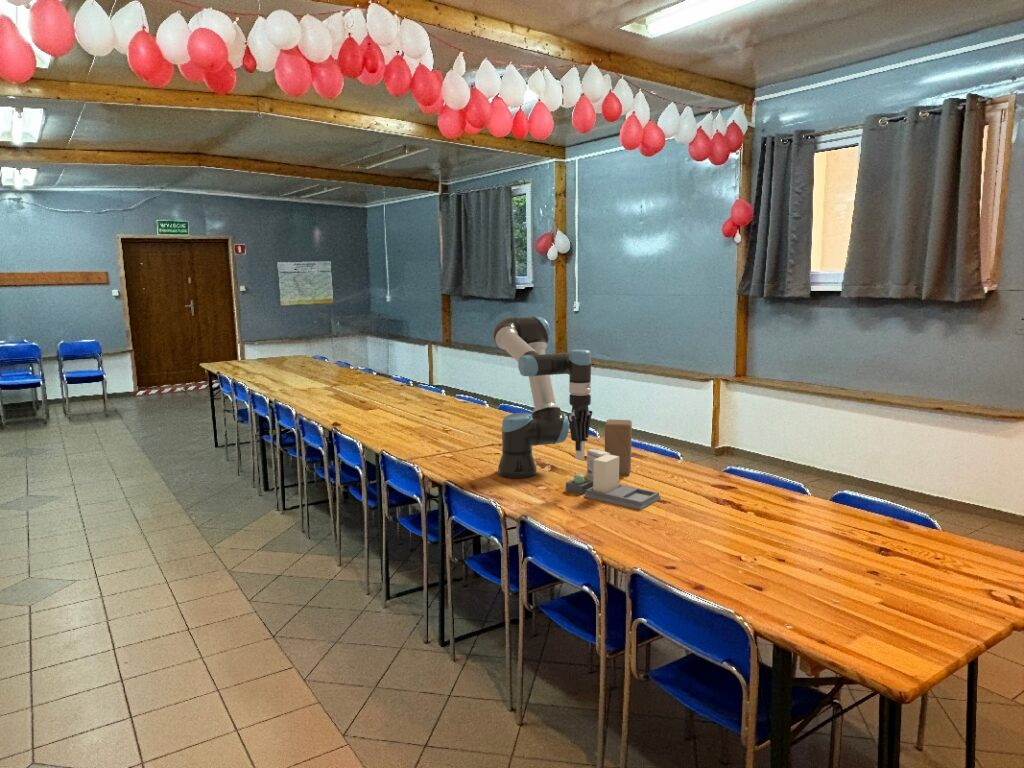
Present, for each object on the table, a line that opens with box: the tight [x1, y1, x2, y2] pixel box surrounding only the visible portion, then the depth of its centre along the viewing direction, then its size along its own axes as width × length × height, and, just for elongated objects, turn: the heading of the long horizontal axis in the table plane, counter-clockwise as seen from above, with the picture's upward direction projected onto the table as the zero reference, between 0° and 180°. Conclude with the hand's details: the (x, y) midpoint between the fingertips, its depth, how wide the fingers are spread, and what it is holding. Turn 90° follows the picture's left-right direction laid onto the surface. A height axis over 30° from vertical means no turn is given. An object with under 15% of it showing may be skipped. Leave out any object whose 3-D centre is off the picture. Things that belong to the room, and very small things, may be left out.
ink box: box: [586, 448, 610, 482], centre depth 252 cm, size 8×5×12 cm, turn 30°
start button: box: [573, 473, 585, 485], centre depth 243 cm, size 4×4×4 cm
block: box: [604, 418, 633, 476], centre depth 264 cm, size 10×10×20 cm
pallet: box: [584, 483, 661, 511], centre depth 234 cm, size 22×14×2 cm, turn 51°
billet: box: [593, 454, 620, 493], centre depth 237 cm, size 5×9×12 cm, turn 141°
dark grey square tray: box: [565, 479, 593, 495], centre depth 243 cm, size 7×7×3 cm
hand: (580, 458), depth 241 cm, fingers closed
